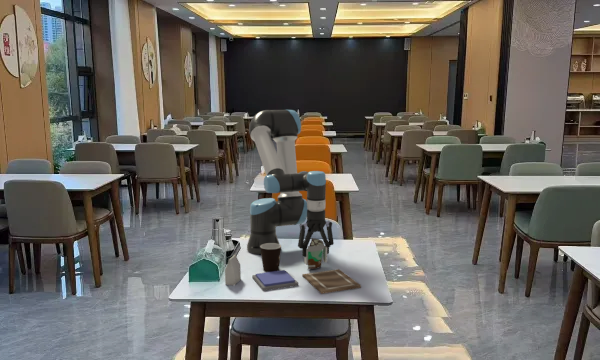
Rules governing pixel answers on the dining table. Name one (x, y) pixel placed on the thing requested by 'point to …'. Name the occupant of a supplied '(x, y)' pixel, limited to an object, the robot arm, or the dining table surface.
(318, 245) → the food container
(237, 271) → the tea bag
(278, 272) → the ink pad
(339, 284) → the marked board
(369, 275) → the dining table surface
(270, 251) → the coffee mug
